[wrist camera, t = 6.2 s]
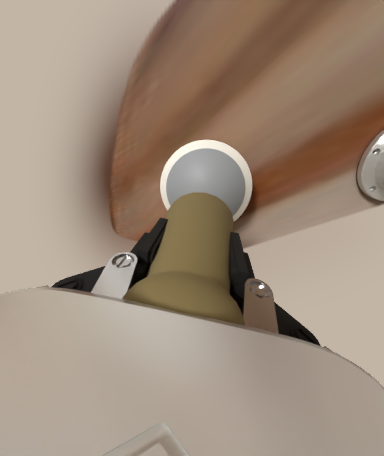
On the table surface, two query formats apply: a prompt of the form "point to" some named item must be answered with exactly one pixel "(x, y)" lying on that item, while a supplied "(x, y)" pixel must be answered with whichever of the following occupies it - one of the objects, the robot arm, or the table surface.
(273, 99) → the table surface
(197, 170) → the podium
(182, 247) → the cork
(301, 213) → the table surface
